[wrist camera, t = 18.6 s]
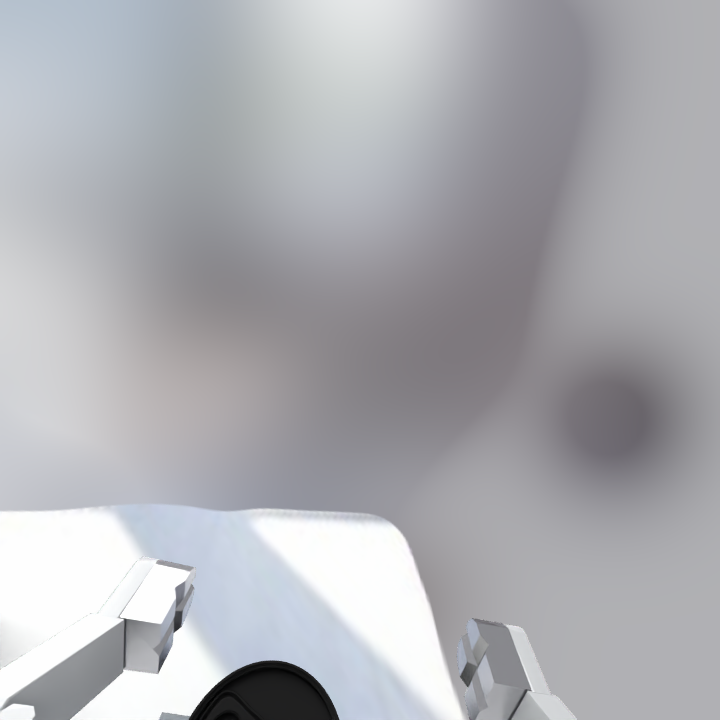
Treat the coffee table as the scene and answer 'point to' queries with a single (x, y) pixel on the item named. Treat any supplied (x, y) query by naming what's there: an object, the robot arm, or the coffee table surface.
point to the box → (173, 717)
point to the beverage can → (267, 695)
